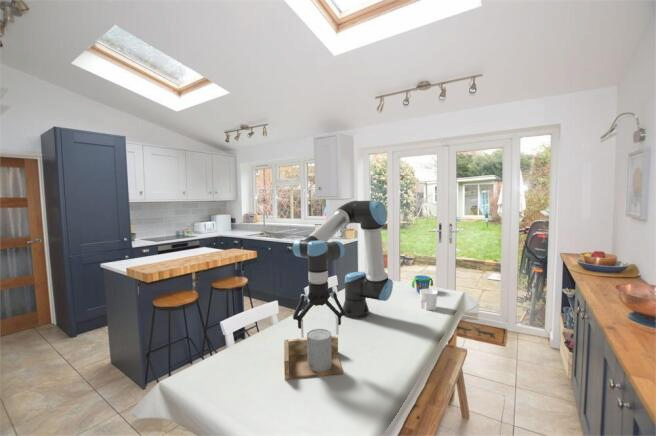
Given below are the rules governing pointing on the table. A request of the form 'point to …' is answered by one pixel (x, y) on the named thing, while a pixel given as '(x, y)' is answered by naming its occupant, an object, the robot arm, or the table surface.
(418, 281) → the snack cup
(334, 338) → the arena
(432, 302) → the cup
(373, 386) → the table surface
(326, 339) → the beer can
